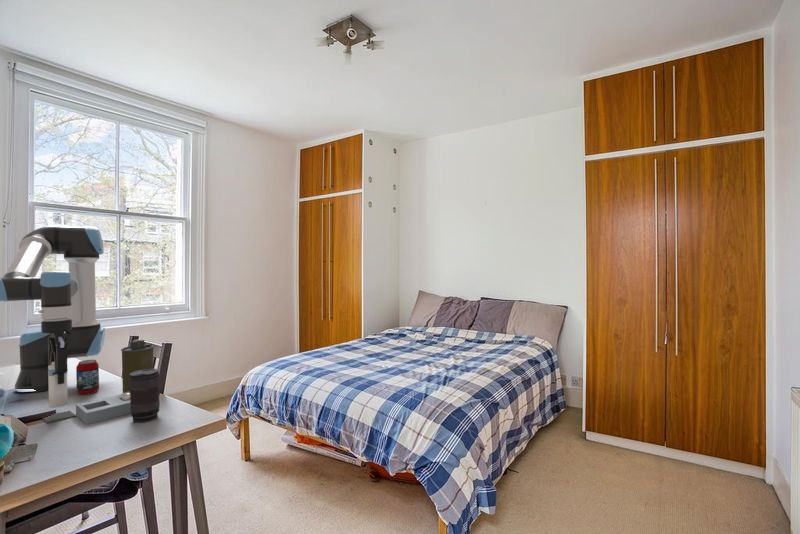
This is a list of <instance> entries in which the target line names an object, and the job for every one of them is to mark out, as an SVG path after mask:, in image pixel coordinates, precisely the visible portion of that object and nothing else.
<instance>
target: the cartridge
mask: <svg viewBox="0 0 800 534" xmlns="http://www.w3.org/2000/svg"><path fill="white" fill-rule="evenodd" d="M62 369H63V368H62ZM52 373H55V362H52V365H49V366H48V380H49V390H48V408H51V409H52V408H53V409H55V408H61V407H65V406H67V405H68V404H69V403H68V400H69V399H68V397H69V396H68V395H69V394H68V371H67V372H66V393H63V394H58V395H55V392H54V375H52Z"/></svg>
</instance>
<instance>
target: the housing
mask: <svg viewBox="0 0 800 534" xmlns="http://www.w3.org/2000/svg"><path fill="white" fill-rule="evenodd" d="M122 394H123V393H121V394H118V395H117V394H116V395H112V396H108V397H104V398H100V399H94V400H90V401H85V402H80V403H76V404H75V416H76V417H77V418H79V419H80V420H81V421H82V422H84V424H86V425H89V424H90V425H91V424H93V423H98V422H101V421H102V422H103V421H105V420H106V421H107V420H110V419H114V418H117V417H120V416H121V417H122V416H124V415H129V414H131V410H130V399H129V400H125V401H123V400H122Z"/></svg>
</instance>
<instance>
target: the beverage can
mask: <svg viewBox="0 0 800 534" xmlns="http://www.w3.org/2000/svg"><path fill="white" fill-rule="evenodd" d="M99 367H100V366H99V363H98V362H97V359H87V360H80V361H79V362H78V364H77V365H76V368H75V370H76V373H75V377H76V393H77V394H79V395H82V396H83V395H90V394H94V393H96V392H97V391H98V390H99V389H100V373H99V370H100V368H99Z"/></svg>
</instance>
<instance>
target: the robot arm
mask: <svg viewBox="0 0 800 534" xmlns="http://www.w3.org/2000/svg"><path fill="white" fill-rule="evenodd" d="M100 231H101V230H99V228H98V227H96V226H87V225H57V224H56V225H55V224H53V225H47V226H42V227H40V228H37V229H35V230H32V231H30V232H29V233H28V234H26V235H25V236H23V238H22V239H21V240H20V241H19V244H18V249H19V250H18V252H17V254H16V255H15V256H14V259H13V260H12V262H11V264H10V265H9V266H8V268H7V270H6V271H5V273H4V275H3V277H0V302H13V301H14V302H16V301H18V302H19V301H36V300H40V307H41V308H40V310H38V313H39V314H41V315H40V317H41V320H42V321H41V323H40V324H41V326H40V327H41V328H39V329H33V330H29V331H26V332H23V333H22V334H21V335H20V336H19V345H18V346H19V368H20V369H19V374H18V376H17V378H16V382H15V384H14V390H15V389H34V390H36V391H38V392H45V391H46V392H47V391H49V380H48V366H49V365H52V362H55V373H52V375H54V392H55V395H58V394H63V393H66V372H67V373H68V372H69V368H68V359H72V358H73V359H74V358H84V357H85V358H88V357H93V356H99V354H101V352H102V350H103V346H104V342H105V336H106V327H105V326H101V322H100V321H99V320H97V315H96V314H97V313H96V311H97V309H96V308H97V306H96V304H97V303H96V301H97V300H96V262H97V261H98V260H100V256H101V255H104V253H105V252H104V243H103V238H102V234H101V232H100ZM50 255H63V259H64V260H65V261H67V263H68V270H67V271H65V270H63V271H60V270H59V271H43V272H41V273H40V276H37V275H38V273H39V270H40V268H41V267H42V264H43V262H44V261H45V258H47V257H49V256H50ZM62 368H63V369H62ZM38 392H37V393H38Z"/></svg>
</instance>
